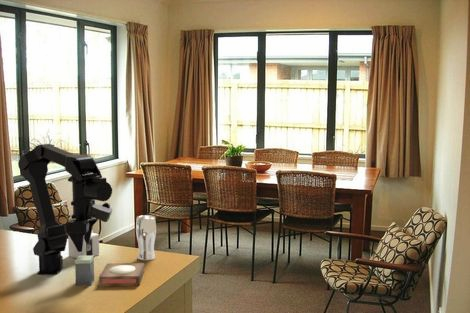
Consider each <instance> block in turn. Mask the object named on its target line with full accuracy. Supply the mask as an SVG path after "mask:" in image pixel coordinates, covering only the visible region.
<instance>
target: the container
mask: <svg viewBox="0 0 470 313" xmlns="http://www.w3.org/2000/svg"><path fill="white" fill-rule="evenodd" d="M99 239H100V234H98V233H94V229H92V233H91V238H90V242H89V243H86V242H85V240H84V242H83V249H82V252H78V251H77V249H76V247H75V245H74V243H73V241H72V240H71V238H70V236H69V235H67V243H68V245H67V246H68V257H70V258H74V259H77V257H78V256H94V257H96V256H99V255H100V240H99Z"/></svg>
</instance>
